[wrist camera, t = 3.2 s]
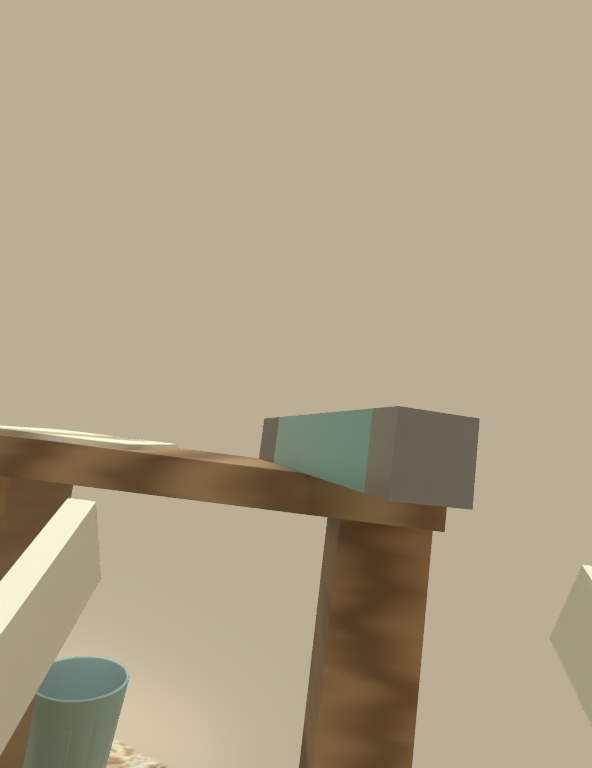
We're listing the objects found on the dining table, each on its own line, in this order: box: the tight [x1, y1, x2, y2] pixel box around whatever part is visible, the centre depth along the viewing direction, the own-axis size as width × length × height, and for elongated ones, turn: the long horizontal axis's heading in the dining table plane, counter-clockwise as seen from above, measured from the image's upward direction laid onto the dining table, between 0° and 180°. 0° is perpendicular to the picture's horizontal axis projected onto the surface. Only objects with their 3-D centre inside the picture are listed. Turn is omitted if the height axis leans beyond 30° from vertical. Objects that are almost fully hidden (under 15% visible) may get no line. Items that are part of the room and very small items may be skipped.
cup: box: [23, 656, 129, 768], centre depth 40 cm, size 8×8×10 cm
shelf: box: [0, 426, 447, 768], centre depth 29 cm, size 28×12×30 cm, turn 90°
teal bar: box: [259, 406, 479, 509], centre depth 26 cm, size 3×22×3 cm, turn 15°
